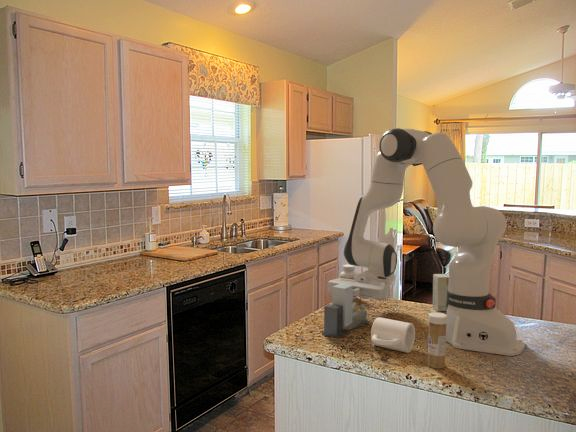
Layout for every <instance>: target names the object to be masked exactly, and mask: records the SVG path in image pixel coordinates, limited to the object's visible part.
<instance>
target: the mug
mask: <svg viewBox="0 0 576 432" xmlns="http://www.w3.org/2000/svg"><path fill="white" fill-rule="evenodd" d="M414 325H415V324H413V323H412V322H406V321H401V320H395V319H391V318H385V317H379V316H378V317H376V318H375V319H374V321H373V323H372V326H371V329H370V341H371V344H372V345H374V346H377V347H381V348H385V349H389V350H395V351H397V352H402V353H410V352H411V351H412V350H413V347H414V343H415V341H416V340H415V339H416V329H415V326H414Z"/></svg>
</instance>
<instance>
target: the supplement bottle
mask: <svg viewBox="0 0 576 432" xmlns="http://www.w3.org/2000/svg"><path fill="white" fill-rule="evenodd" d="M355 269H356V266H354V265H350V264H342V270H343V271H341V272H340V273H339V278H345V279H352V280H353V279H354V277H355V276H356V275H358V273H357V272H356V271H355ZM357 298H358V296H353V301H354V300H357Z"/></svg>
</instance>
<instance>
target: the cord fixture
mask: <svg viewBox="0 0 576 432" xmlns="http://www.w3.org/2000/svg"><path fill="white" fill-rule="evenodd" d="M323 306H324V309H323V310H324V314H323V316H324V317H323V325H324V326H323V331H322V332H321V335H323V336H327V337H331V338H334V339H341V338H343V337H345V336H346V335H348V334H349V333H351V332H353V331H355V330H356V329H359V328H360V327H362V326H363V325H364V324H366V323H368V322H369V320H368V310H366V303H362V304H360V305H358V303H357V302H356V301H353V312H352V323H351V324H349V325H348V326H346V327H343V306H341V305H336V304H332V302H331V303H328V304H326V305H323Z"/></svg>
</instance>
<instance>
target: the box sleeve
mask: <svg viewBox="0 0 576 432" xmlns="http://www.w3.org/2000/svg"><path fill="white" fill-rule="evenodd" d="M331 295H332V297H331V298H332V299H331V300H332V301H331V304H336V305H341V306H343V327H346V326H348V325H349V324H351V323H352V312H353V303H354V300H353V285H347V284H341V283H340V284H338V285H335V286H333V287H332V292H331Z"/></svg>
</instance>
